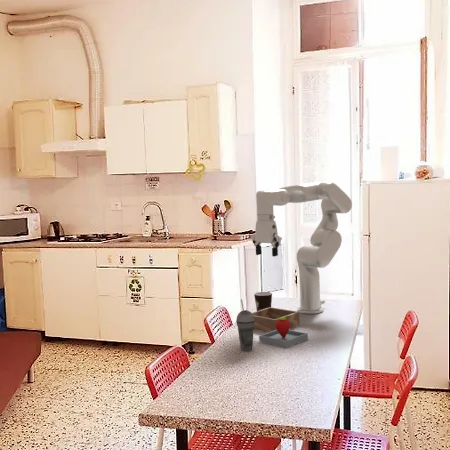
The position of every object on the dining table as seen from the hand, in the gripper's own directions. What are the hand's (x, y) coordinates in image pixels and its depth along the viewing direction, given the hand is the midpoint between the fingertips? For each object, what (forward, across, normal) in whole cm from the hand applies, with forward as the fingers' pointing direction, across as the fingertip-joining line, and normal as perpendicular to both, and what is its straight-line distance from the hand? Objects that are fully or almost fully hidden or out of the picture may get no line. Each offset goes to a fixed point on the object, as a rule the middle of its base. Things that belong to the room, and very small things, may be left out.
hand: (266, 255), depth 271 cm
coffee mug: (+31, +11, -9) cm, 34 cm away
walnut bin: (+30, -8, +7) cm, 32 cm away
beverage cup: (+31, -21, +39) cm, 54 cm away
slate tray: (+30, -25, +21) cm, 45 cm away
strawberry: (+30, -25, +21) cm, 44 cm away
